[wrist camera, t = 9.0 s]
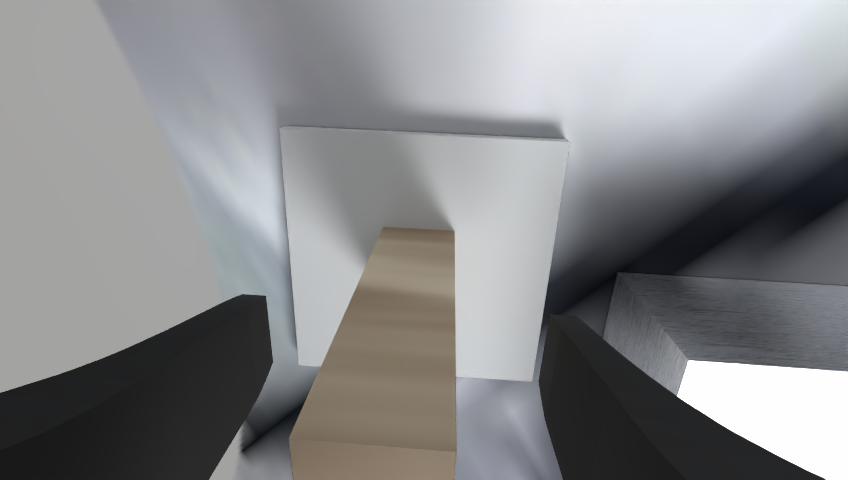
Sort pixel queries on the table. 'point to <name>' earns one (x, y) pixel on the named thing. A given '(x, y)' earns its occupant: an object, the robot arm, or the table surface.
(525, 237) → the pad
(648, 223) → the table surface
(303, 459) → the long tan rectangular block
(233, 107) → the table surface
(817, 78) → the table surface
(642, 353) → the guard box
